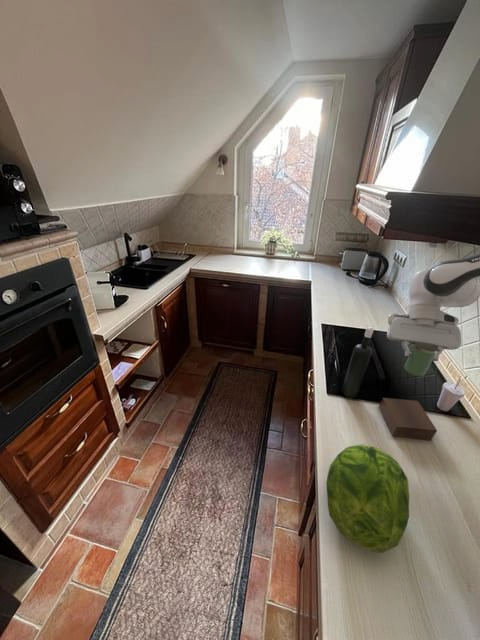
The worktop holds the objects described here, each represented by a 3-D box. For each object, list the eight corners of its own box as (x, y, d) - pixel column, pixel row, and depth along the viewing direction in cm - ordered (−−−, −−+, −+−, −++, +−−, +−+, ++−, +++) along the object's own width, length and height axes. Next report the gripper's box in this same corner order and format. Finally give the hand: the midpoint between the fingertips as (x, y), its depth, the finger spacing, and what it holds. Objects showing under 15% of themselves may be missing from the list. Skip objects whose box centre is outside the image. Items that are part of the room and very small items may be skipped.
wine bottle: (345, 385, 102) (365, 321, 87) (359, 393, 99) (383, 328, 83) (338, 392, 99) (358, 327, 84) (352, 400, 95) (375, 334, 80)
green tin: (419, 364, 86) (431, 340, 81) (429, 377, 81) (442, 352, 76) (400, 363, 87) (411, 339, 82) (409, 375, 81) (421, 350, 76)
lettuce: (424, 467, 66) (372, 410, 68) (441, 564, 46) (367, 479, 49) (365, 486, 75) (321, 435, 78) (358, 572, 56) (300, 501, 58)
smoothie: (432, 408, 93) (448, 380, 86) (432, 398, 97) (448, 370, 90) (453, 417, 90) (472, 388, 83) (453, 405, 94) (471, 377, 87)
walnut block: (412, 410, 92) (417, 400, 89) (430, 440, 82) (437, 430, 79) (378, 407, 93) (382, 397, 90) (392, 436, 82) (397, 426, 80)
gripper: (392, 309, 83) (389, 350, 80) (464, 319, 78) (464, 363, 75) (385, 315, 89) (382, 353, 86) (452, 324, 84) (451, 365, 81)
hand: (421, 358), depth 80 cm, fingers closed on green tin, 6 cm apart
